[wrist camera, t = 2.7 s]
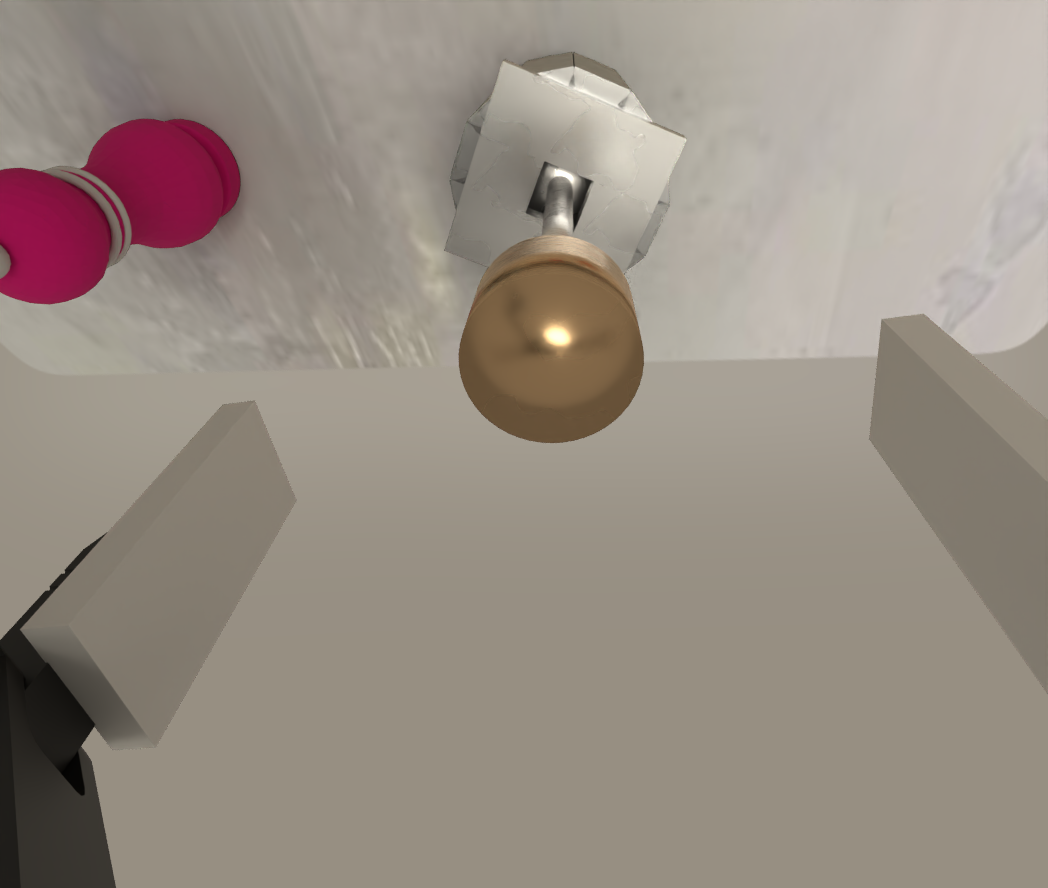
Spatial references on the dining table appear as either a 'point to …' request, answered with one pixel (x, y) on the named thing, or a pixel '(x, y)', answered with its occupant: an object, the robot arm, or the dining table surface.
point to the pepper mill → (111, 206)
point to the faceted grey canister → (561, 160)
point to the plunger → (552, 328)
